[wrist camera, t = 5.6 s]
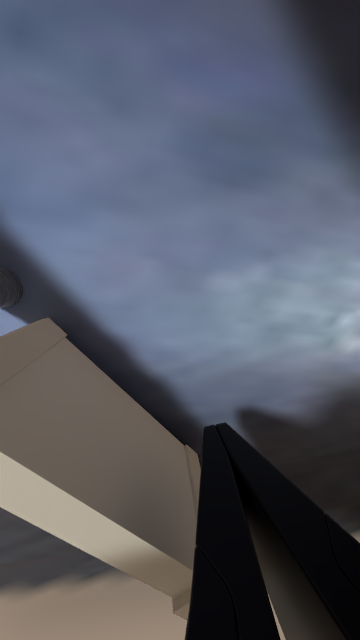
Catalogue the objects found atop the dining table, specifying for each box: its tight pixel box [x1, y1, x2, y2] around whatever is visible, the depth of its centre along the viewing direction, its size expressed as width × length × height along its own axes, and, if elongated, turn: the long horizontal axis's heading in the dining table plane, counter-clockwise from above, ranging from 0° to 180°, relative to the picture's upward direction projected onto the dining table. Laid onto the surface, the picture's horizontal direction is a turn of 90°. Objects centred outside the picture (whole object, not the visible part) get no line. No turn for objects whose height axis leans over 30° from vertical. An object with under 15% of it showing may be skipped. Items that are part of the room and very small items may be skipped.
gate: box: [0, 318, 201, 620], centre depth 7 cm, size 10×2×5 cm, turn 38°
